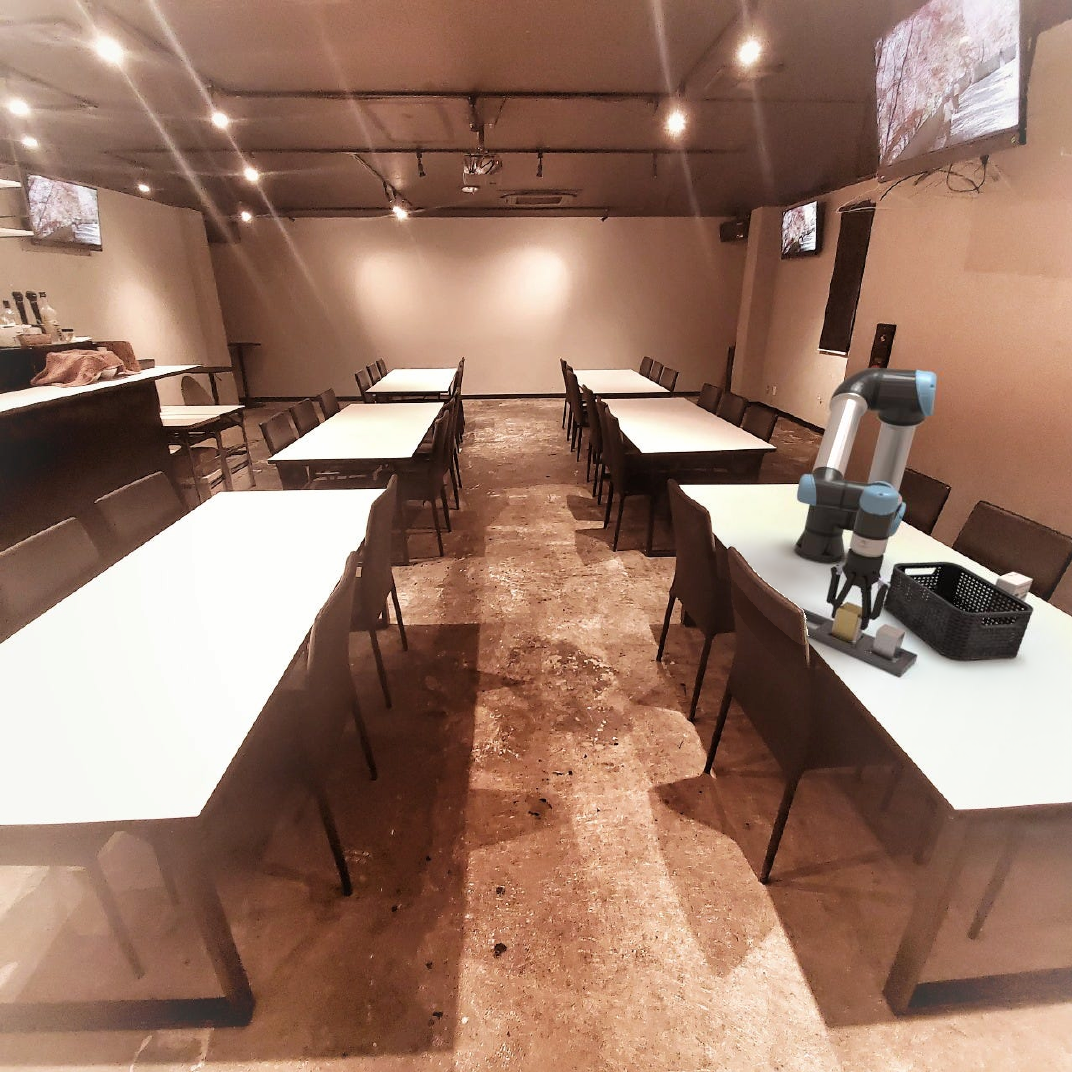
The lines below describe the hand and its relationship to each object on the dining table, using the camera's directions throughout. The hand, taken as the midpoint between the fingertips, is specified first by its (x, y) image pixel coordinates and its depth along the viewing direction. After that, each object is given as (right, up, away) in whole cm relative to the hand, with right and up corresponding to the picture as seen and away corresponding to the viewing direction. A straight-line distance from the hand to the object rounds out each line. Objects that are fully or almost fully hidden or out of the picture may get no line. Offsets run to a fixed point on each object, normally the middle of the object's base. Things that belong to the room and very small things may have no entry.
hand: (845, 634), depth 149 cm
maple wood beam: (0, 0, 0) cm, 0 cm away
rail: (0, -2, +1) cm, 2 cm away
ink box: (+50, +3, +13) cm, 52 cm away
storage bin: (+30, 0, +7) cm, 31 cm away
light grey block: (+6, -5, -6) cm, 10 cm away
